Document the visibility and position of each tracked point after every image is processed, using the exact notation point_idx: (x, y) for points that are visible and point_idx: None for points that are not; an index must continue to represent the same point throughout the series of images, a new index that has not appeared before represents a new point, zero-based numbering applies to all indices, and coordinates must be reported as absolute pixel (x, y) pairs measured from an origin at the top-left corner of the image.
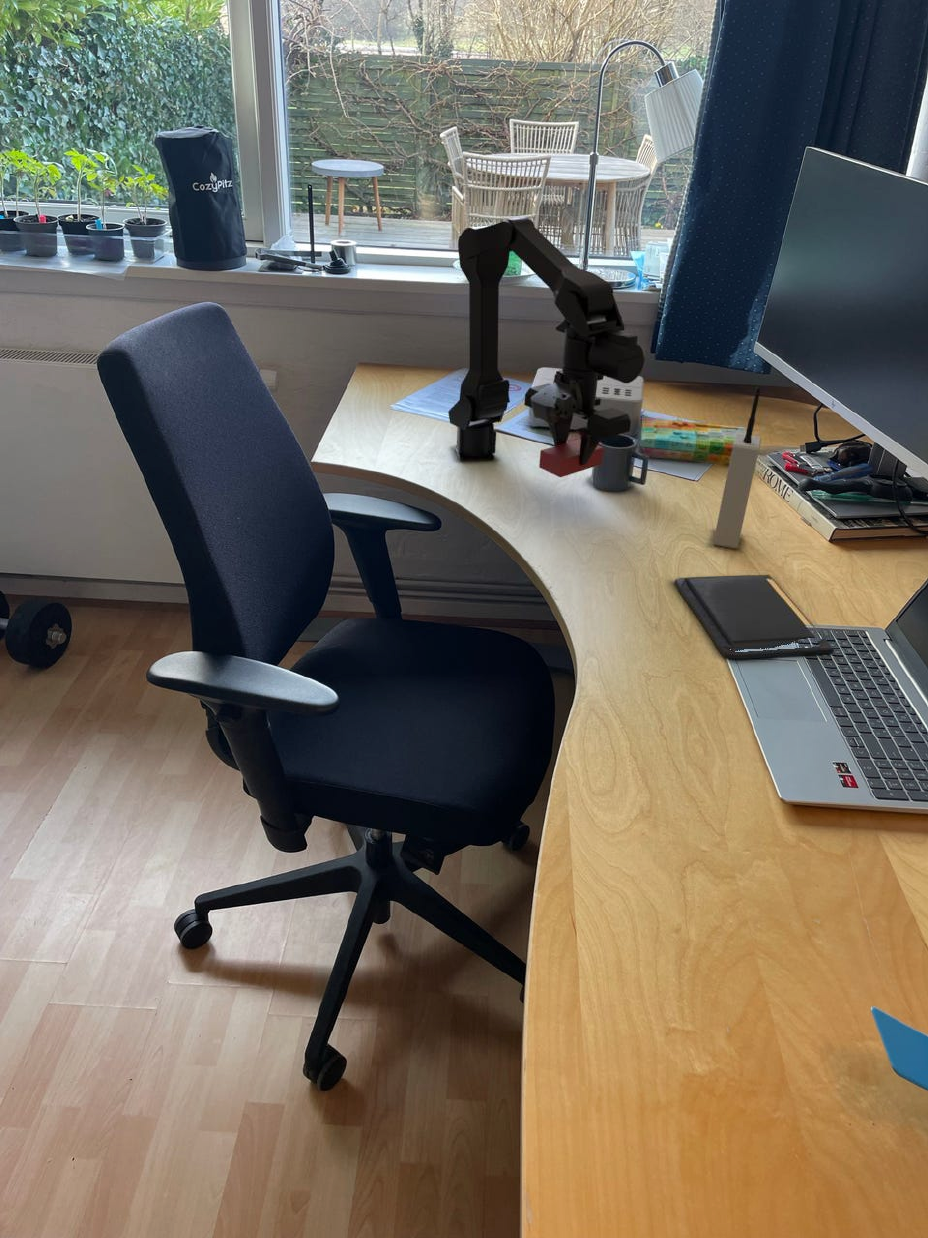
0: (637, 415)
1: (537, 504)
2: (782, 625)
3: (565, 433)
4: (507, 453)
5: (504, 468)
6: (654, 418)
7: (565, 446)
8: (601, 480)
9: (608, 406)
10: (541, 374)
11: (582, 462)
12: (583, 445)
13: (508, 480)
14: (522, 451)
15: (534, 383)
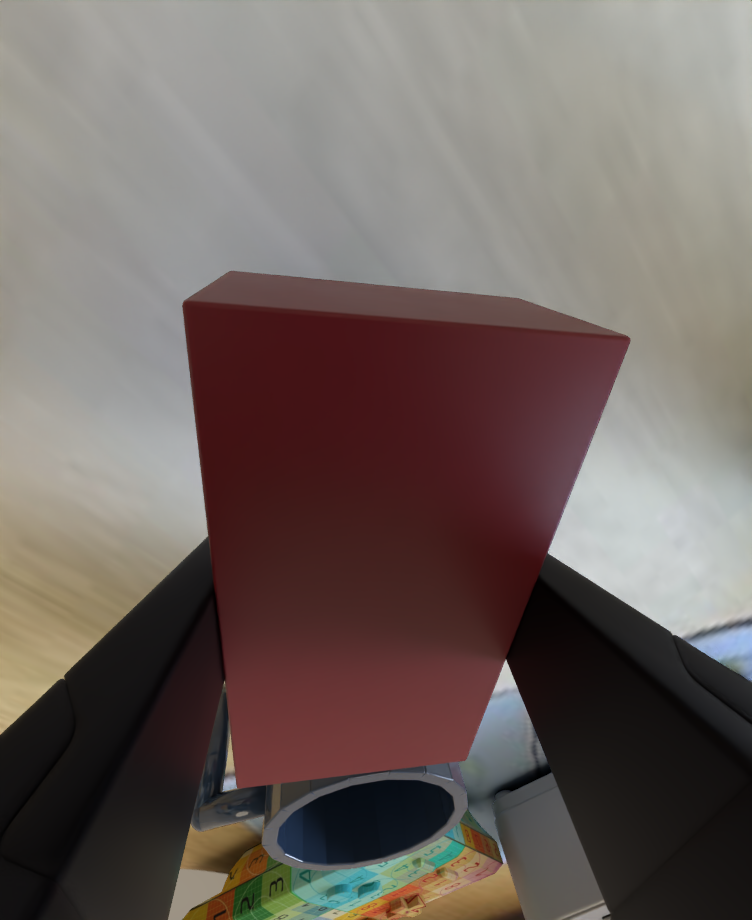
0: (513, 871)
1: (420, 274)
2: None
3: (567, 740)
4: (748, 529)
5: (717, 439)
6: (474, 881)
7: (462, 610)
8: None
9: None
10: None
11: (197, 553)
12: (47, 735)
13: (660, 369)
14: (706, 572)
15: None
